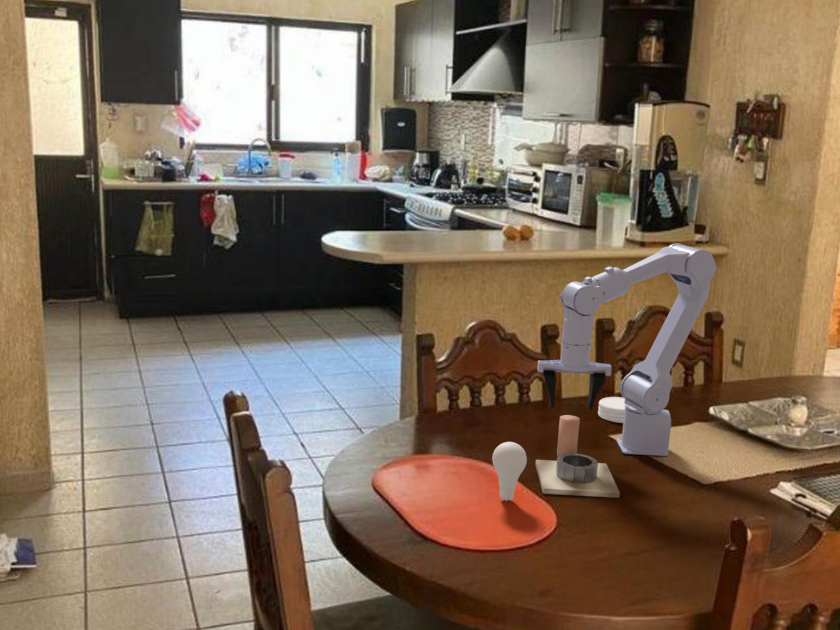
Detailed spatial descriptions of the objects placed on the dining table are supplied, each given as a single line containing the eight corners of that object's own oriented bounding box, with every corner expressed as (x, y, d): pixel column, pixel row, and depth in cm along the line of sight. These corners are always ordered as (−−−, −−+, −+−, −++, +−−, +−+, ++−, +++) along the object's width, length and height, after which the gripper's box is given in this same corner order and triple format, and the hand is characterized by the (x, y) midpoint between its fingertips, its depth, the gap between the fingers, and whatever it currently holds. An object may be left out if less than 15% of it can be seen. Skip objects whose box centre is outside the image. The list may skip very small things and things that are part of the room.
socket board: (605, 468, 178) (607, 449, 177) (619, 497, 164) (621, 477, 163) (535, 464, 178) (536, 445, 177) (543, 493, 164) (544, 473, 163)
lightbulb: (501, 510, 156) (505, 451, 154) (483, 496, 162) (487, 439, 159) (530, 504, 159) (534, 446, 157) (511, 491, 165) (515, 435, 162)
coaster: (608, 407, 217) (609, 393, 216) (647, 416, 211) (649, 402, 210) (590, 417, 209) (591, 403, 208) (630, 427, 203) (632, 412, 202)
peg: (574, 452, 186) (578, 415, 184) (577, 459, 182) (581, 422, 180) (555, 451, 186) (558, 414, 184) (558, 458, 182) (561, 421, 180)
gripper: (609, 339, 182) (603, 402, 185) (538, 335, 182) (533, 398, 185) (615, 348, 175) (609, 413, 178) (541, 344, 176) (536, 409, 179)
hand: (570, 407), depth 181 cm, fingers open, 7 cm apart
